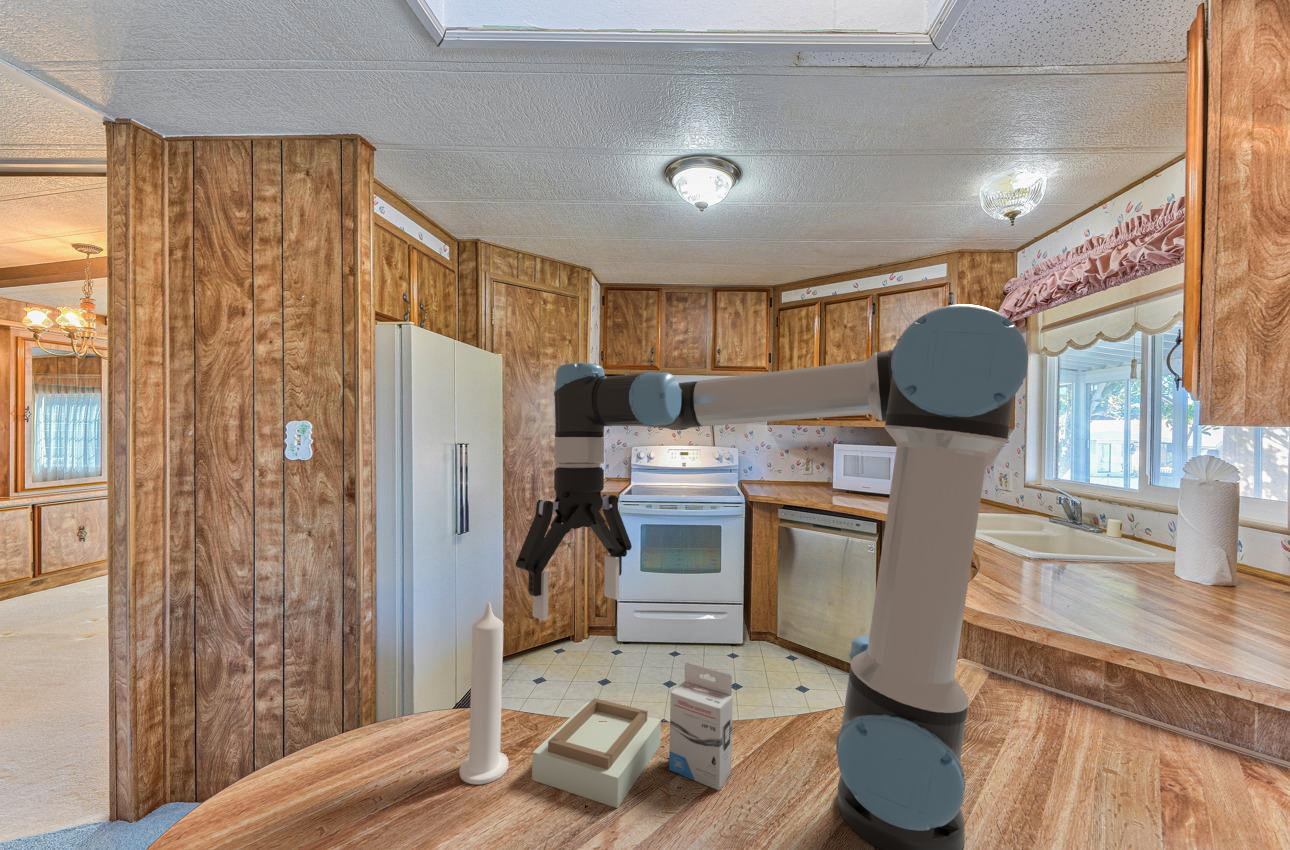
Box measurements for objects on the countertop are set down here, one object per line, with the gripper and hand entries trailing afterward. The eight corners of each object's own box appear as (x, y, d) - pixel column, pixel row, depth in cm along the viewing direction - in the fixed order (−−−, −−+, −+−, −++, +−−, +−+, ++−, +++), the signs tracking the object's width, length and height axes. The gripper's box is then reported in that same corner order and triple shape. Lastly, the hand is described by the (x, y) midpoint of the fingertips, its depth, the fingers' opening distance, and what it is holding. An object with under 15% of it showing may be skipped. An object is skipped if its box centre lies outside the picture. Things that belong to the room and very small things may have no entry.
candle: (494, 788, 72) (498, 611, 73) (449, 781, 73) (454, 607, 74) (516, 758, 79) (520, 597, 80) (475, 752, 80) (479, 593, 81)
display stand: (660, 744, 83) (660, 710, 83) (617, 808, 68) (618, 766, 69) (586, 725, 89) (587, 693, 89) (532, 779, 74) (532, 741, 74)
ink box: (667, 771, 77) (668, 672, 77) (682, 754, 81) (683, 660, 81) (719, 792, 72) (720, 687, 73) (732, 773, 76) (733, 674, 77)
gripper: (621, 463, 88) (621, 586, 87) (492, 467, 71) (489, 621, 70) (652, 464, 83) (652, 594, 82) (521, 468, 65) (519, 635, 64)
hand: (578, 607), depth 76 cm, fingers open, 13 cm apart
